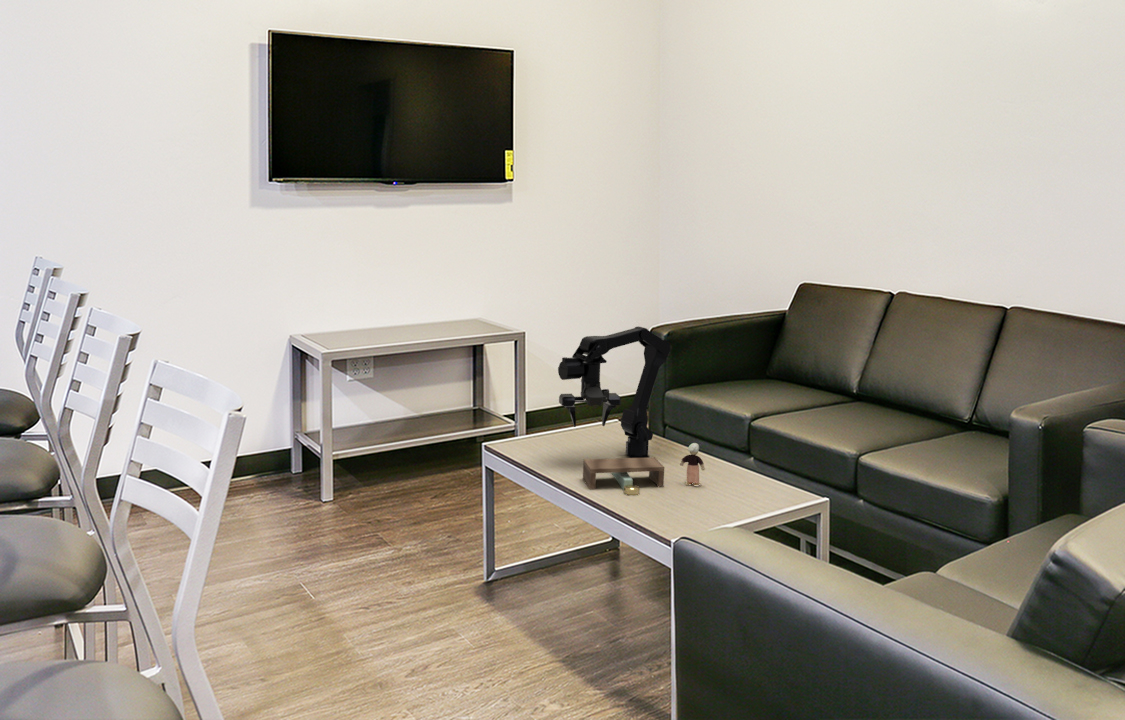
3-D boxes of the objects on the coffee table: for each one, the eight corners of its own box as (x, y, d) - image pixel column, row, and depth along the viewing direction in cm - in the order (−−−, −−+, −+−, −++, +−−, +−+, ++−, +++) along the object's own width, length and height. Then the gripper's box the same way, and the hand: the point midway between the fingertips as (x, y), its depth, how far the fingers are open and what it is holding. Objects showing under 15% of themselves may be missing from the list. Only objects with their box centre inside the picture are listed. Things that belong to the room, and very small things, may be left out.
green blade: (616, 469, 294) (616, 458, 294) (632, 491, 273) (632, 480, 272) (608, 469, 294) (609, 458, 293) (624, 491, 273) (624, 480, 272)
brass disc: (637, 491, 273) (637, 484, 273) (640, 496, 269) (641, 489, 268) (622, 491, 273) (622, 484, 272) (625, 496, 268) (625, 489, 268)
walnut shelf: (653, 476, 287) (654, 457, 286) (663, 486, 277) (664, 467, 276) (582, 478, 283) (583, 459, 282) (590, 489, 273) (590, 469, 272)
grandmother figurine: (705, 484, 281) (708, 443, 278) (703, 488, 277) (705, 446, 275) (680, 481, 283) (682, 440, 281) (677, 484, 279) (679, 443, 277)
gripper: (566, 383, 284) (565, 433, 287) (626, 382, 288) (624, 432, 291) (559, 375, 295) (557, 424, 298) (617, 375, 299) (615, 423, 302)
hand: (589, 426), depth 297 cm, fingers open, 9 cm apart
